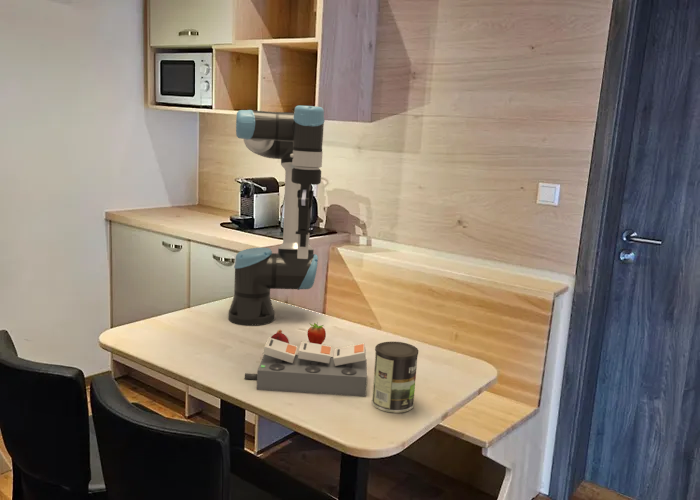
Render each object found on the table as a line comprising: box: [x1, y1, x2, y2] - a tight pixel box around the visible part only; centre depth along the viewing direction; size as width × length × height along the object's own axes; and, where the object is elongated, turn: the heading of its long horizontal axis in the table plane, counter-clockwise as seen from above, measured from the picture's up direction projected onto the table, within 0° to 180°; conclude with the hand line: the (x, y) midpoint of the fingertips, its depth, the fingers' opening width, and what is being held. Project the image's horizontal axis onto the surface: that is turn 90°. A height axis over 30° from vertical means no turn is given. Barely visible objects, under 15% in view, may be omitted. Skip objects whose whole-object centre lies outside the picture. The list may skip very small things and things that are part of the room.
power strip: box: [244, 354, 368, 397], centre depth 162 cm, size 12×31×6 cm, turn 89°
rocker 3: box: [333, 342, 367, 366], centre depth 163 cm, size 7×8×2 cm
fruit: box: [307, 322, 327, 345], centre depth 186 cm, size 5×5×8 cm
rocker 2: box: [297, 341, 332, 363], centre depth 163 cm, size 7×8×2 cm
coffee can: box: [371, 341, 419, 414], centre depth 152 cm, size 10×10×14 cm
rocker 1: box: [262, 336, 299, 363], centre depth 163 cm, size 7×8×2 cm
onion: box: [270, 329, 290, 344], centre depth 177 cm, size 6×6×8 cm
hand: (302, 258), depth 166 cm, fingers closed
